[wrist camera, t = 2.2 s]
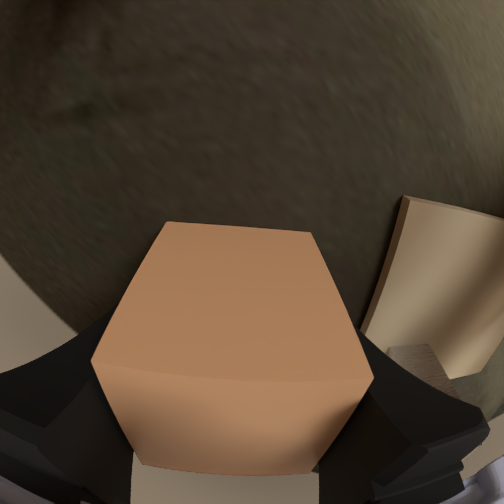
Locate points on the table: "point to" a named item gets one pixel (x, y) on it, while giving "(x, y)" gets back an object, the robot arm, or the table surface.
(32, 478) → the robot arm
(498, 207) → the table surface
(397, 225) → the board
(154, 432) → the tan rectangular block
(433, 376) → the post
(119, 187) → the table surface
